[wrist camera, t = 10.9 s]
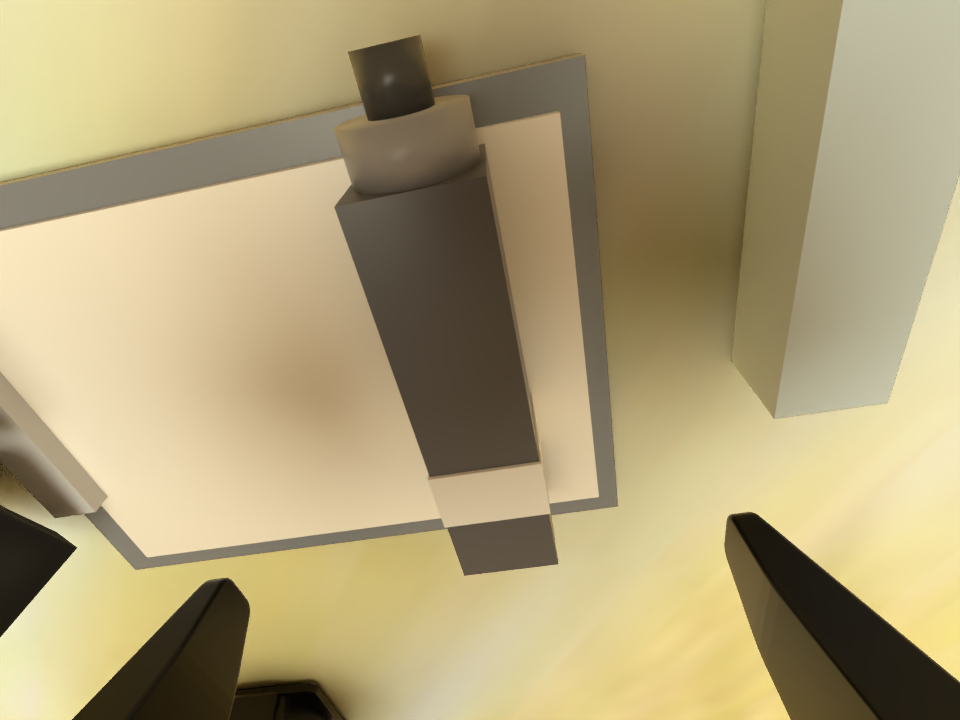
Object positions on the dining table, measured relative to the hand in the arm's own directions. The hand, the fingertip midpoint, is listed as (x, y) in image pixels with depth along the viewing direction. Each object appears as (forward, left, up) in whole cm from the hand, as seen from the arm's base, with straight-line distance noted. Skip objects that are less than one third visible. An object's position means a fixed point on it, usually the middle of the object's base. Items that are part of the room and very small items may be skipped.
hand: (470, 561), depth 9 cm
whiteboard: (-1, +6, -8) cm, 10 cm away
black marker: (+1, 0, -7) cm, 7 cm away
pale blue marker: (+4, -10, -8) cm, 14 cm away
